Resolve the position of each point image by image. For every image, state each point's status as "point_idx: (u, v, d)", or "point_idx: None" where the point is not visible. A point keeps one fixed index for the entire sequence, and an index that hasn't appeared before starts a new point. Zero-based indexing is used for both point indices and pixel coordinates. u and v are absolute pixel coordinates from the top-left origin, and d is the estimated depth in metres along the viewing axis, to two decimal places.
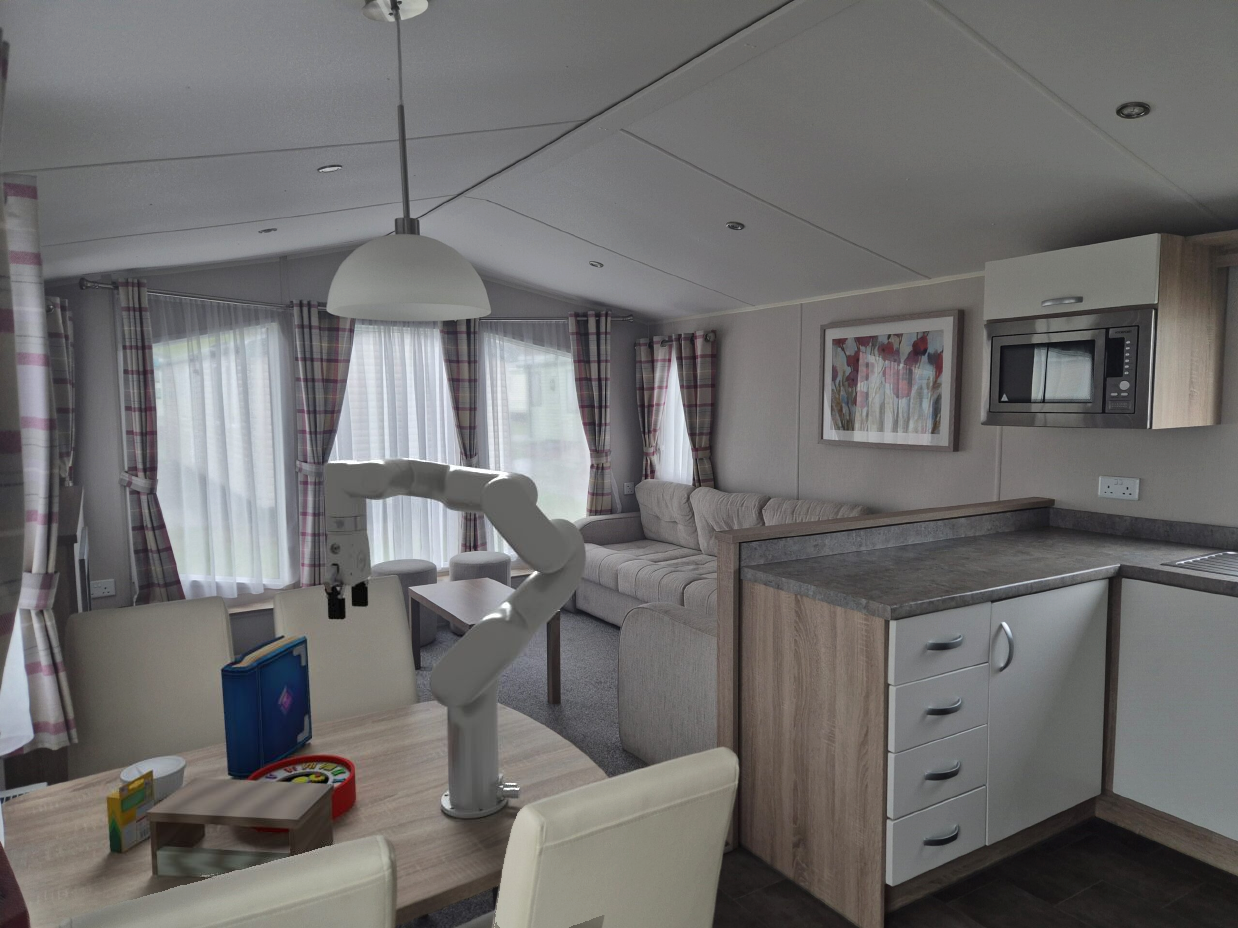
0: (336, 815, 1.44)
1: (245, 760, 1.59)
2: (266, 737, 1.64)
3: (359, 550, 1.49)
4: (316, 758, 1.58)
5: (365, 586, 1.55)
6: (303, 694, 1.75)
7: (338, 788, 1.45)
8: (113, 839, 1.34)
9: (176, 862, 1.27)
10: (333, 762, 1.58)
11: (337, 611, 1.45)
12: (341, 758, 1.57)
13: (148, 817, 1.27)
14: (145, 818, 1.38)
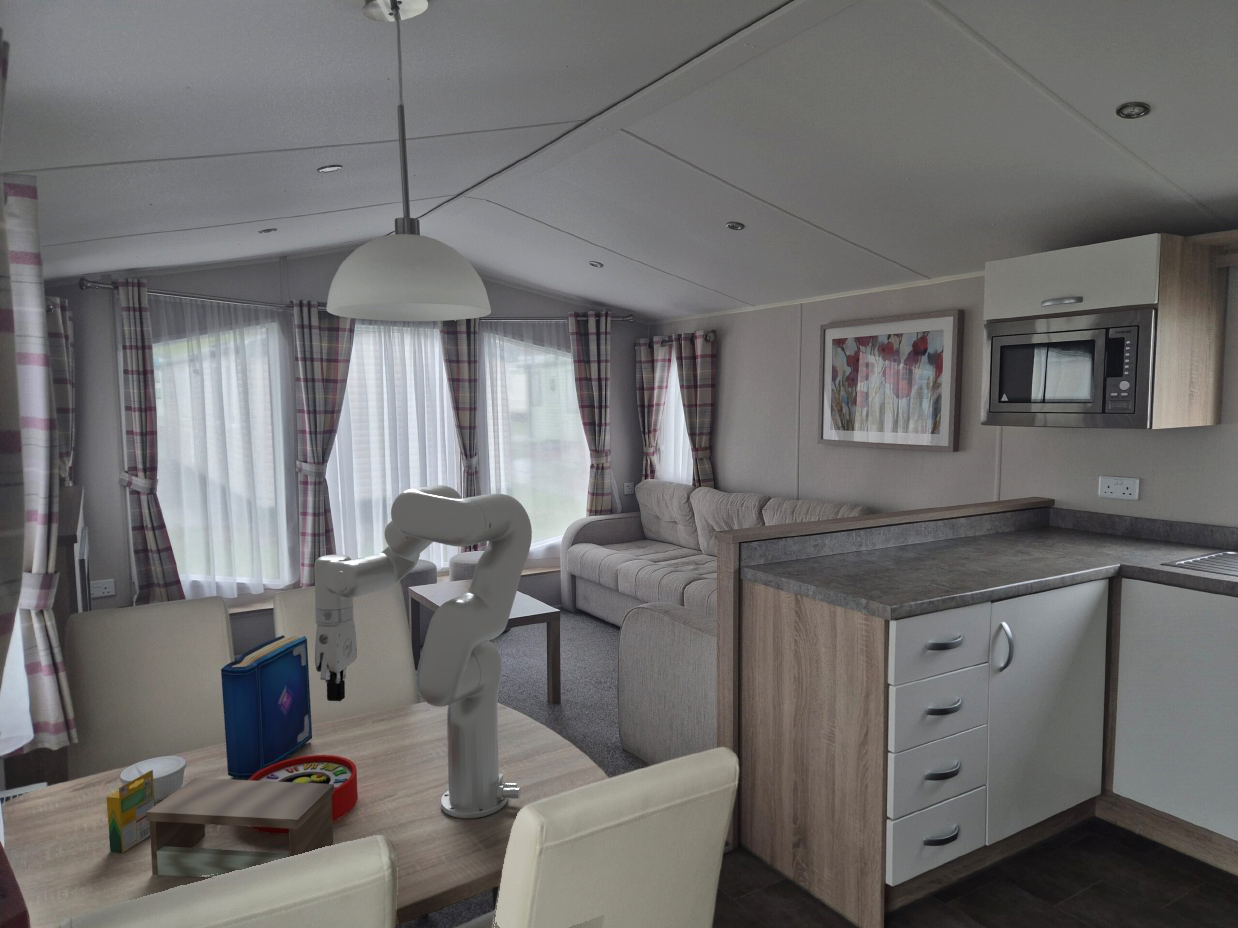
0: (337, 815, 1.44)
1: (245, 761, 1.59)
2: (266, 737, 1.64)
3: (346, 638, 1.63)
4: (318, 759, 1.58)
5: (342, 680, 1.65)
6: (303, 694, 1.75)
7: (340, 789, 1.45)
8: (113, 839, 1.34)
9: (176, 862, 1.27)
10: (335, 762, 1.58)
11: (335, 694, 1.63)
12: (343, 758, 1.57)
13: (148, 817, 1.27)
14: (145, 818, 1.38)
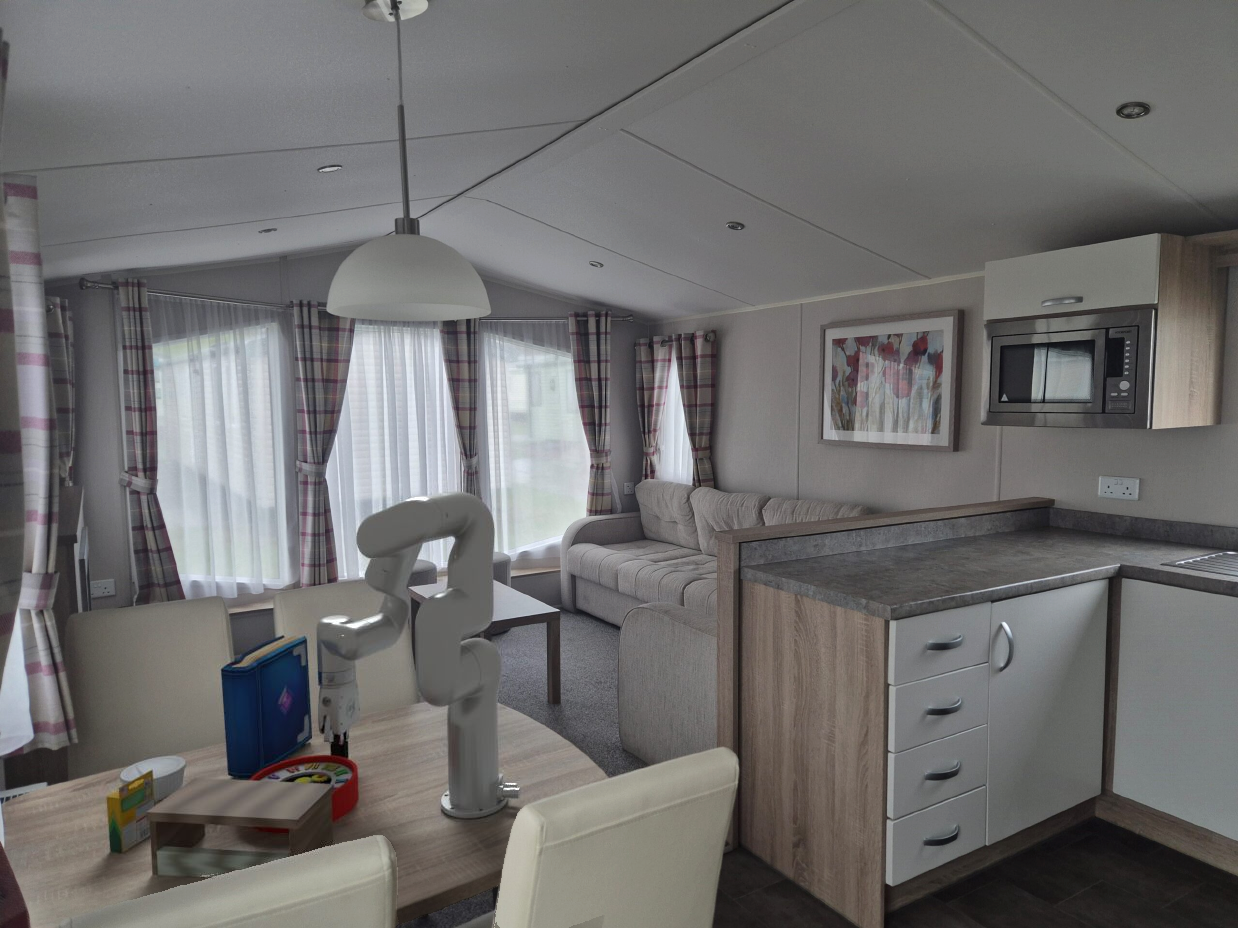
0: (338, 816, 1.44)
1: (245, 760, 1.59)
2: (266, 737, 1.64)
3: (348, 699, 1.63)
4: (319, 759, 1.58)
5: (345, 740, 1.66)
6: (303, 694, 1.75)
7: (341, 789, 1.45)
8: (113, 839, 1.34)
9: (176, 862, 1.27)
10: (336, 762, 1.58)
11: (338, 755, 1.64)
12: (344, 758, 1.57)
13: (148, 817, 1.27)
14: (145, 818, 1.38)
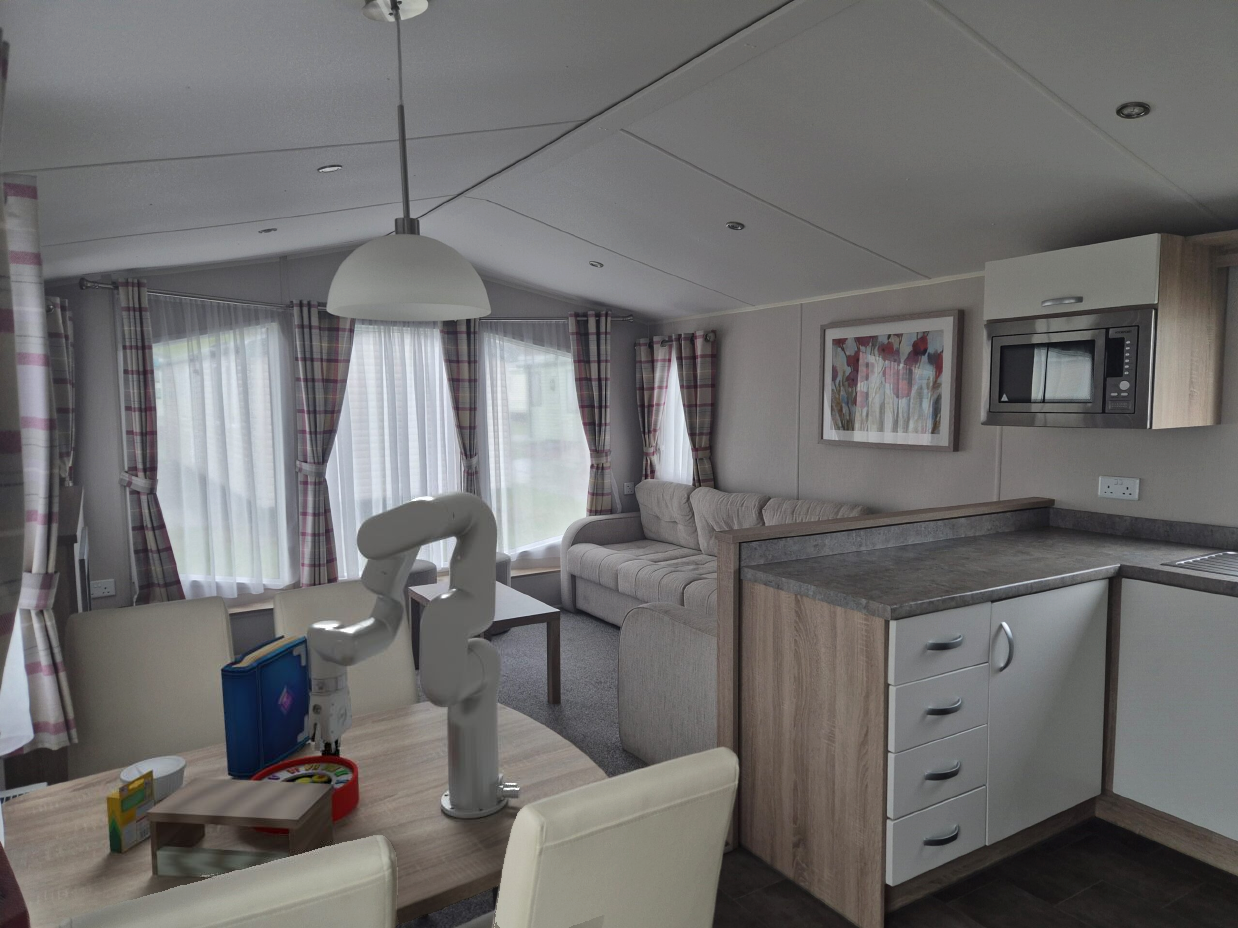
0: (339, 816, 1.44)
1: (245, 760, 1.59)
2: (266, 737, 1.64)
3: (340, 706, 1.60)
4: (319, 759, 1.58)
5: (337, 748, 1.62)
6: (303, 694, 1.75)
7: (341, 789, 1.44)
8: (113, 839, 1.34)
9: (176, 862, 1.27)
10: (336, 763, 1.57)
11: None
12: (344, 759, 1.57)
13: (148, 817, 1.27)
14: (145, 818, 1.38)
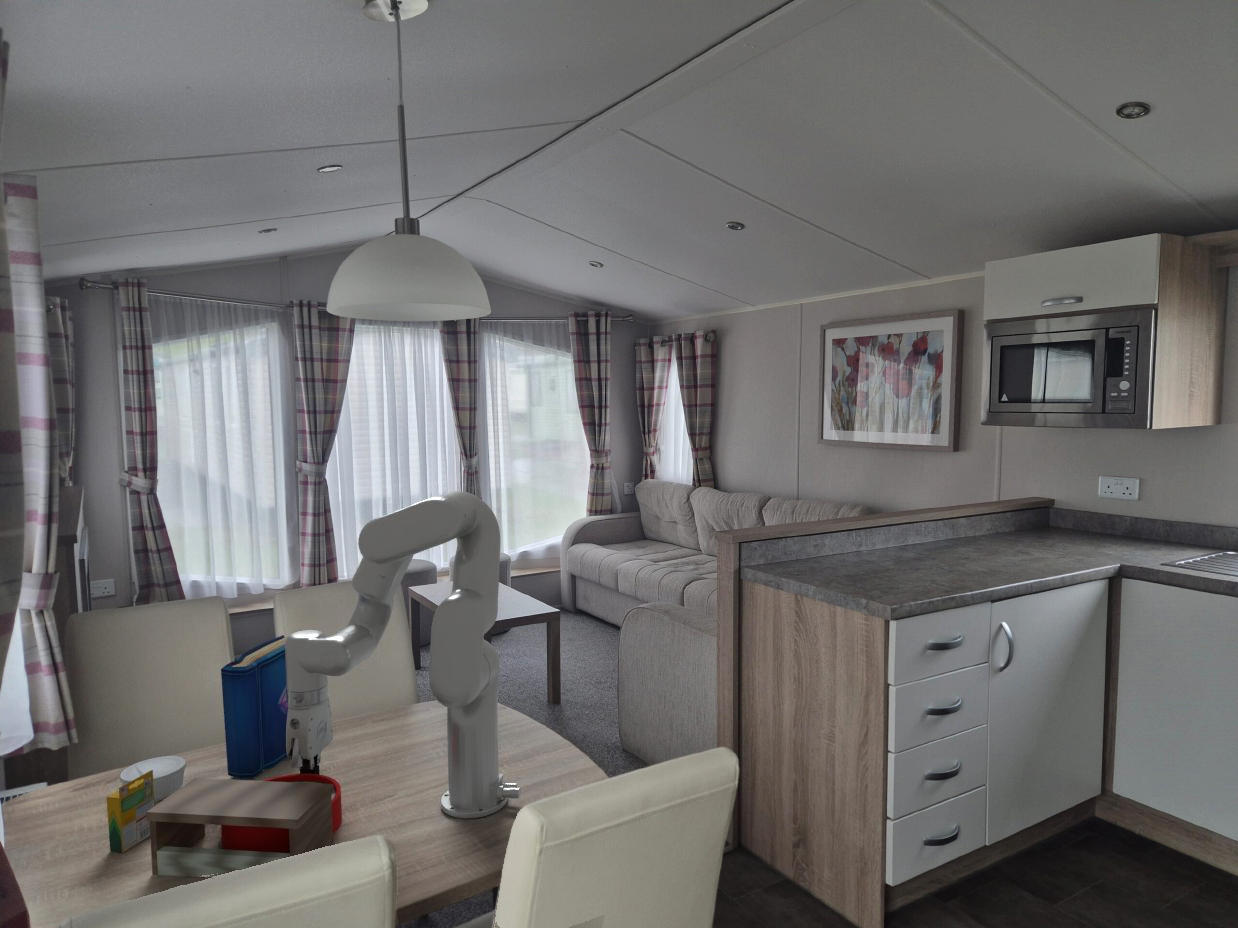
0: None
1: (245, 760, 1.59)
2: (266, 737, 1.64)
3: (319, 721, 1.52)
4: (300, 778, 1.50)
5: (316, 765, 1.54)
6: None
7: None
8: (113, 839, 1.34)
9: (176, 862, 1.27)
10: (318, 781, 1.50)
11: None
12: (326, 777, 1.49)
13: (148, 817, 1.27)
14: (145, 818, 1.38)
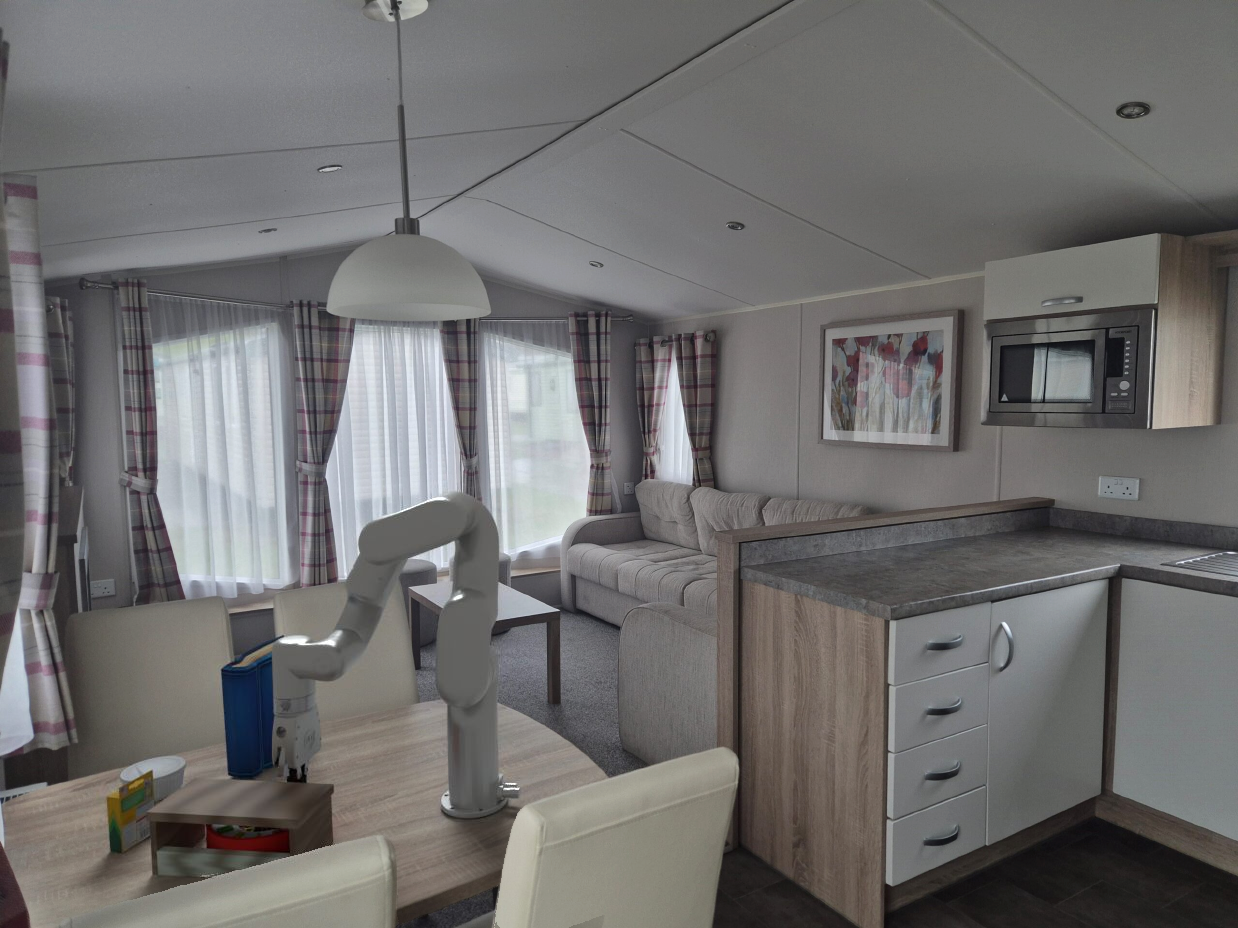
0: None
1: (245, 760, 1.59)
2: (266, 737, 1.64)
3: (307, 729, 1.47)
4: None
5: (304, 774, 1.49)
6: None
7: None
8: (113, 839, 1.34)
9: (176, 862, 1.27)
10: None
11: None
12: None
13: (148, 817, 1.27)
14: (145, 818, 1.38)
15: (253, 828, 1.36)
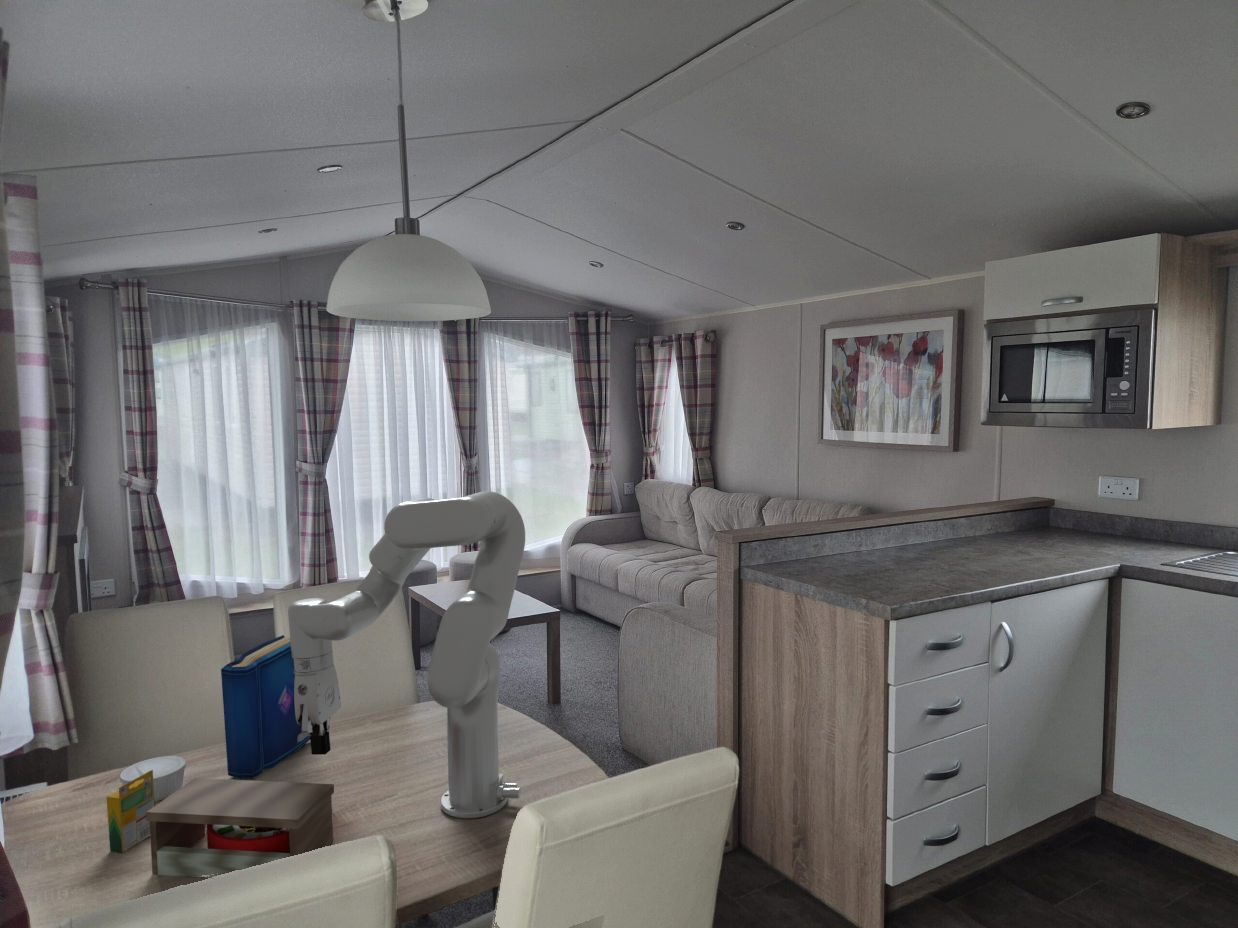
0: None
1: (245, 760, 1.59)
2: (266, 737, 1.64)
3: (327, 687, 1.53)
4: None
5: (326, 731, 1.55)
6: None
7: None
8: (113, 839, 1.34)
9: (176, 862, 1.27)
10: None
11: (319, 747, 1.53)
12: None
13: (148, 817, 1.27)
14: (145, 818, 1.38)
15: (254, 829, 1.36)
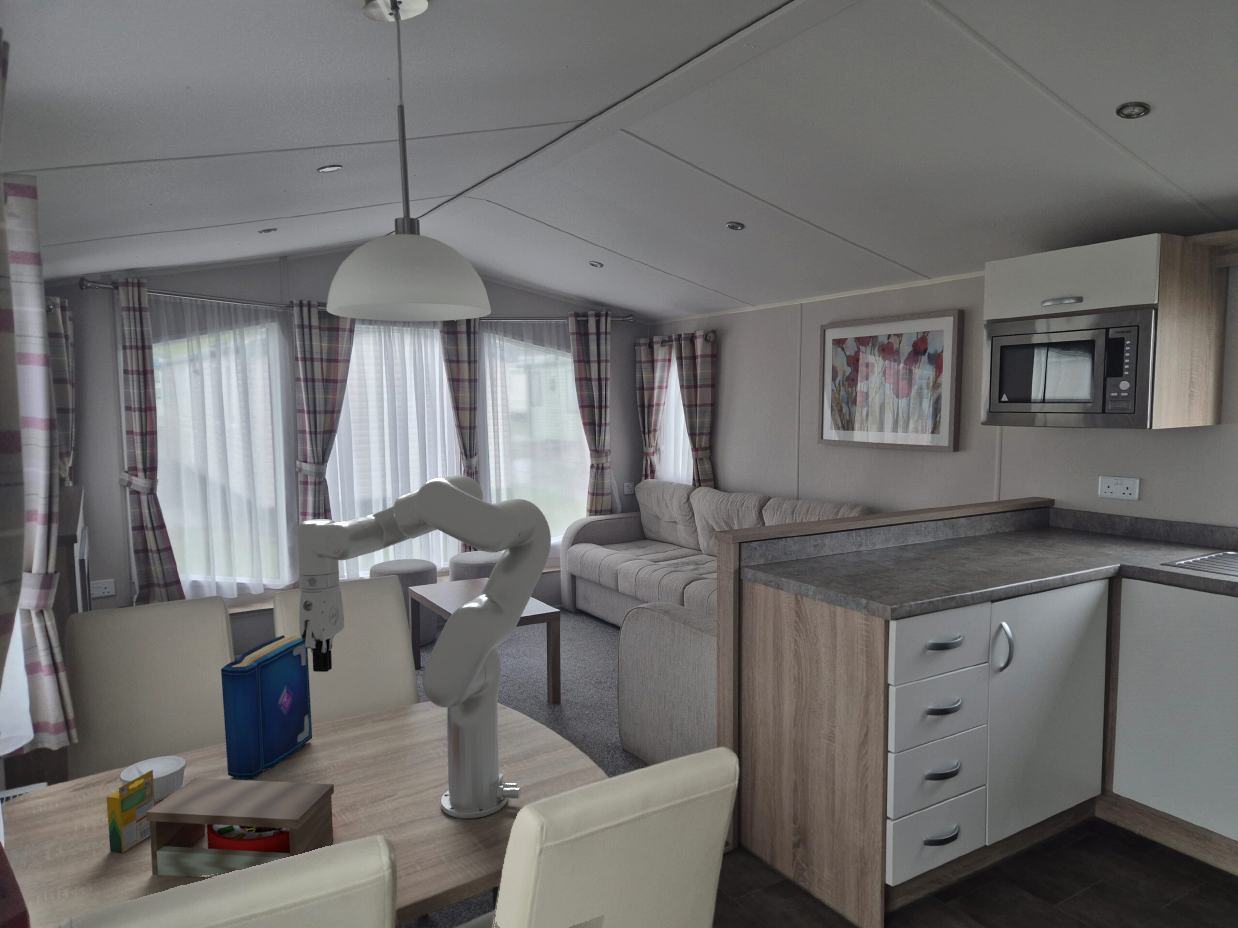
0: None
1: (245, 760, 1.59)
2: (266, 737, 1.64)
3: (331, 605, 1.56)
4: None
5: (329, 650, 1.58)
6: (303, 694, 1.75)
7: None
8: (113, 839, 1.34)
9: (176, 862, 1.27)
10: None
11: (321, 664, 1.56)
12: None
13: (148, 817, 1.27)
14: (145, 818, 1.38)
15: (254, 829, 1.36)
